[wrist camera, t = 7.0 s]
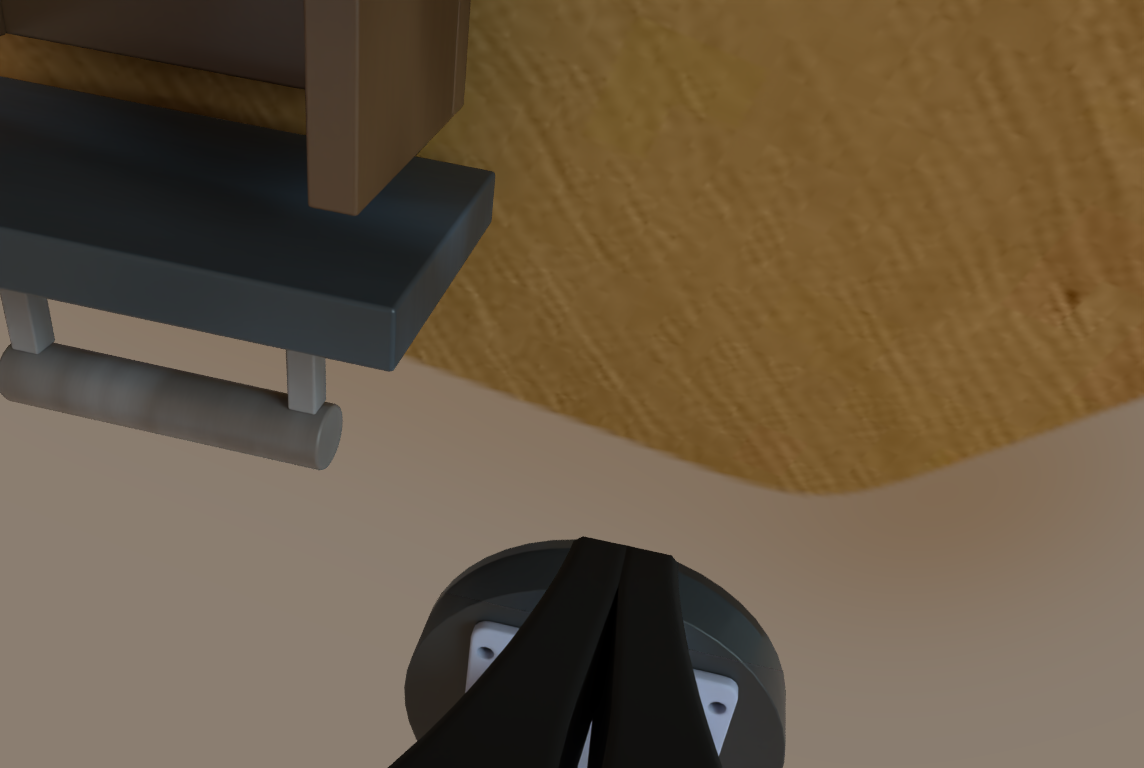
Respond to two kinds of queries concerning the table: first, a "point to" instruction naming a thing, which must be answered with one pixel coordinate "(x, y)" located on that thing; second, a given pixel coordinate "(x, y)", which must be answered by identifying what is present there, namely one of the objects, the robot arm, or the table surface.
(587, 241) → the table surface
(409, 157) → the drawer
